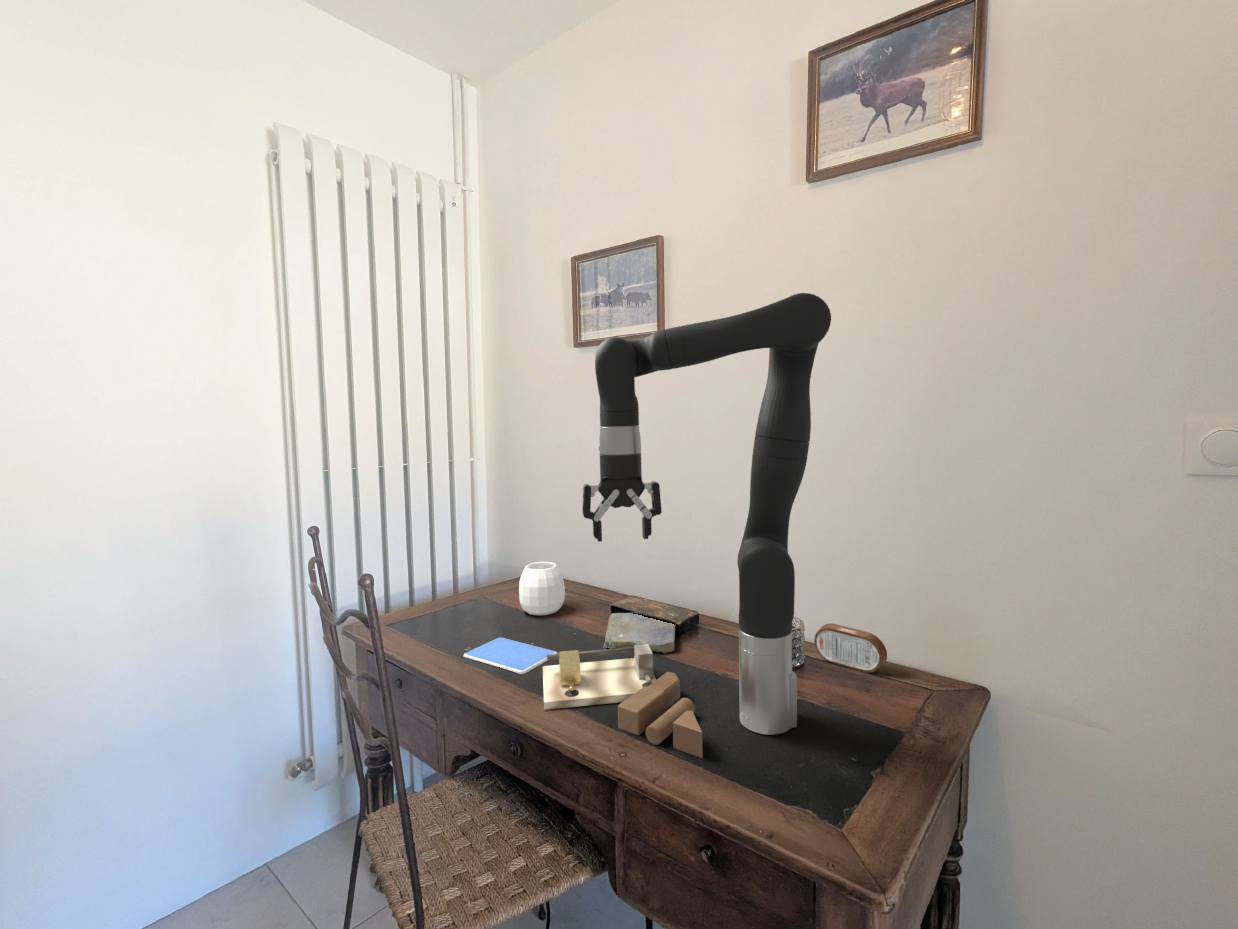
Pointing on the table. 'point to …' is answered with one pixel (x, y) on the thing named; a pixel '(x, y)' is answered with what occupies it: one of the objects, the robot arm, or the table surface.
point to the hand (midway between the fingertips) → (622, 539)
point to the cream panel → (600, 679)
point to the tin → (850, 647)
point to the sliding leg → (569, 668)
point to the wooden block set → (662, 715)
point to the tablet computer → (510, 655)
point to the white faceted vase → (541, 588)
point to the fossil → (639, 632)
